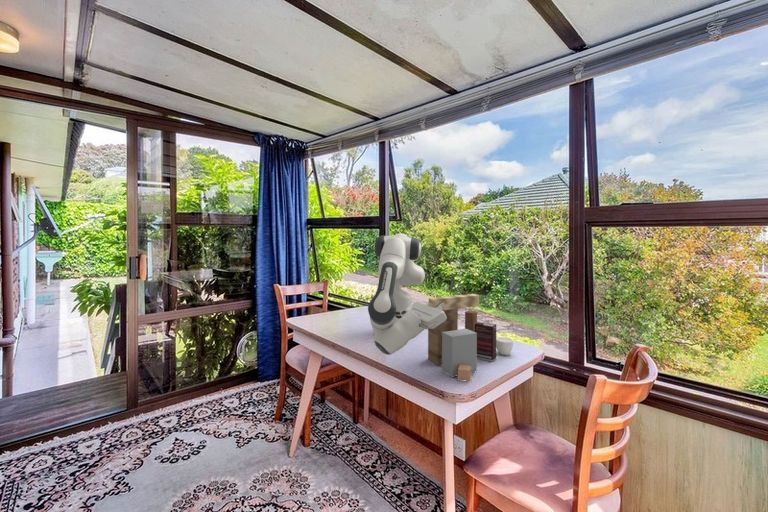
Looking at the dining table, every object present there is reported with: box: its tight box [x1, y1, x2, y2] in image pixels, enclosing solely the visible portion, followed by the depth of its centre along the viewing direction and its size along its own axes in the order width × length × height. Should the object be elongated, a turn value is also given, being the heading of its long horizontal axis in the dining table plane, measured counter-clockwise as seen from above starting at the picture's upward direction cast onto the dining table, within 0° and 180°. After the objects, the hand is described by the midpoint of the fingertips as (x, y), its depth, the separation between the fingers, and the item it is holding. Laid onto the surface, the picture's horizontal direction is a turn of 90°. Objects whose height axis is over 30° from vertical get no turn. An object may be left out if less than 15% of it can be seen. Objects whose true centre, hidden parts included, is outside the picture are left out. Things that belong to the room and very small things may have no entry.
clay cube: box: [457, 365, 472, 382], centre depth 128 cm, size 4×4×4 cm
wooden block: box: [464, 310, 478, 332], centre depth 161 cm, size 9×4×18 cm, turn 137°
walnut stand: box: [427, 301, 459, 367], centre depth 145 cm, size 10×8×26 cm
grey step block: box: [441, 328, 478, 377], centre depth 135 cm, size 12×7×16 cm, turn 114°
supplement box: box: [475, 321, 497, 362], centre depth 148 cm, size 9×5×16 cm, turn 52°
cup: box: [496, 336, 514, 356], centre depth 155 cm, size 8×10×7 cm
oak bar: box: [428, 293, 480, 310], centre depth 132 cm, size 22×4×4 cm, turn 114°
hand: (440, 302), depth 129 cm, fingers closed on oak bar, 3 cm apart
